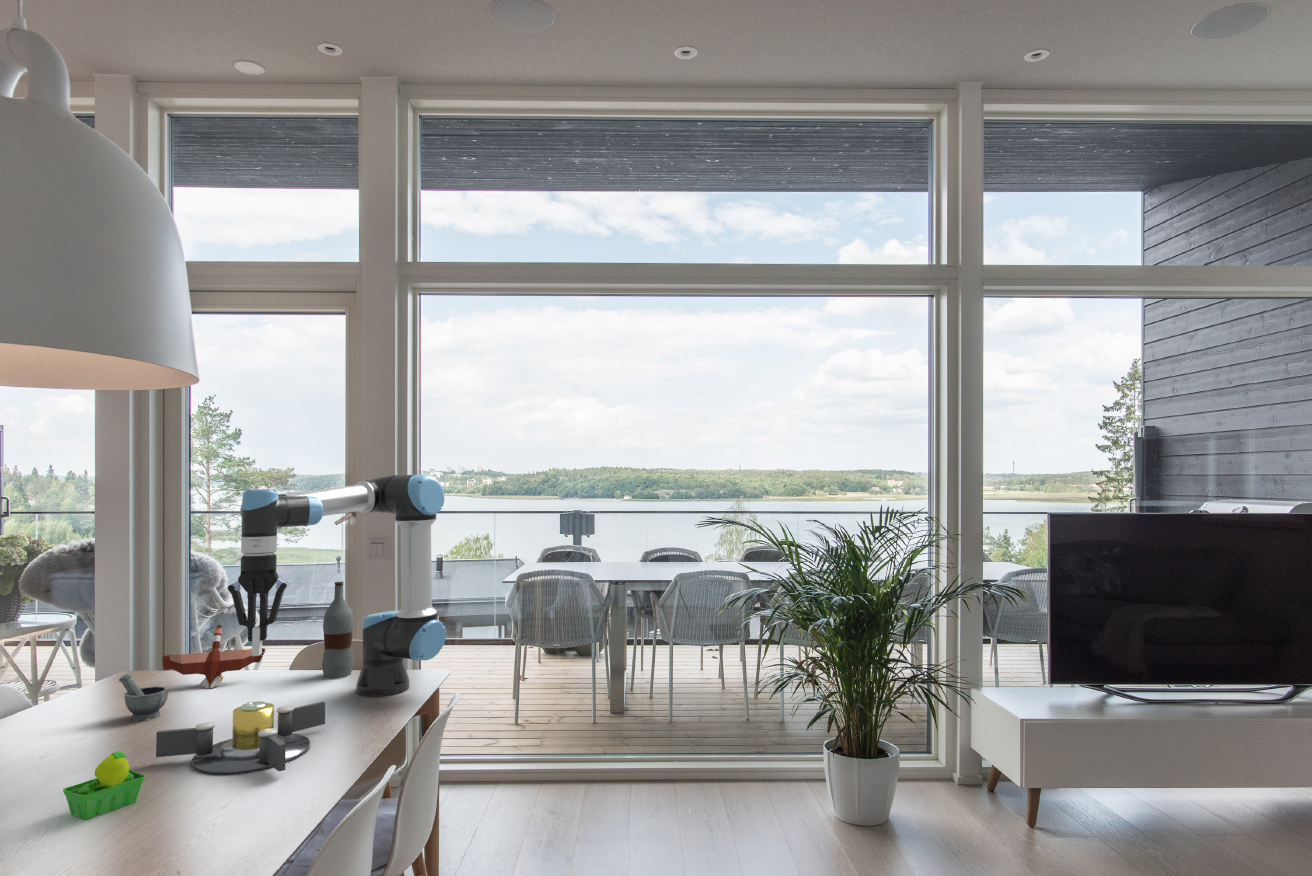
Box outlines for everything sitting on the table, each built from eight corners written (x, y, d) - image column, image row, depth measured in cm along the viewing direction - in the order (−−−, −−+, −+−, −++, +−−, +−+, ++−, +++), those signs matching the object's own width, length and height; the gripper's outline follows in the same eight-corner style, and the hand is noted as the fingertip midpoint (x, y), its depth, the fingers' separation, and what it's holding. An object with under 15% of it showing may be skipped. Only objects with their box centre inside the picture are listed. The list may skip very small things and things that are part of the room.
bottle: (350, 670, 249) (351, 579, 251) (355, 676, 242) (356, 582, 243) (319, 674, 245) (321, 581, 246) (324, 680, 237) (325, 584, 238)
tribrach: (318, 732, 188) (318, 683, 189) (298, 768, 165) (299, 712, 166) (211, 741, 182) (212, 691, 183) (175, 780, 159) (176, 722, 159)
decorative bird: (270, 659, 250) (268, 620, 246) (262, 694, 234) (260, 654, 229) (171, 667, 241) (168, 627, 236) (156, 704, 224) (151, 662, 220)
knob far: (216, 749, 173) (217, 721, 174) (211, 755, 170) (211, 726, 170) (160, 754, 170) (160, 726, 171) (153, 760, 167) (154, 731, 167)
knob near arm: (279, 738, 180) (280, 711, 181) (273, 734, 183) (274, 708, 183) (327, 726, 189) (327, 700, 189) (320, 722, 192) (321, 697, 192)
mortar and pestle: (171, 709, 208) (172, 666, 208) (163, 719, 199) (164, 674, 200) (122, 715, 203) (123, 670, 204) (112, 725, 195) (114, 678, 195)
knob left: (255, 760, 166) (255, 731, 167) (273, 755, 169) (273, 727, 169) (272, 774, 158) (273, 744, 159) (291, 769, 161) (292, 739, 161)
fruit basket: (125, 793, 152) (126, 737, 153) (150, 802, 148) (151, 744, 149) (59, 816, 142) (61, 755, 143) (84, 826, 138) (86, 763, 139)
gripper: (223, 556, 173) (221, 660, 171) (285, 554, 176) (283, 656, 175) (233, 553, 180) (231, 652, 179) (292, 551, 183) (290, 649, 182)
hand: (256, 654), depth 177 cm, fingers closed
